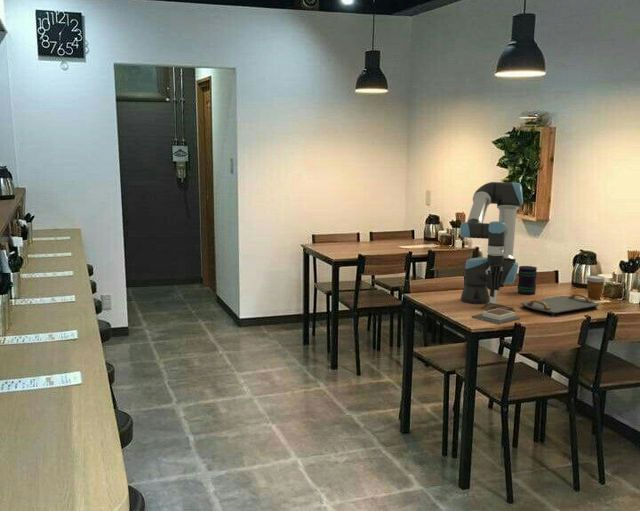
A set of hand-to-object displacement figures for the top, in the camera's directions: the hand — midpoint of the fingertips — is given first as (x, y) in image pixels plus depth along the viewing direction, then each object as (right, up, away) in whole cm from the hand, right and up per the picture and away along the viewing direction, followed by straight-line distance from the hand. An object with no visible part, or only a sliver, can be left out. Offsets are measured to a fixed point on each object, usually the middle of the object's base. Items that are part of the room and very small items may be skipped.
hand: (493, 302), depth 300 cm
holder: (+7, -5, +17) cm, 19 cm away
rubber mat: (+2, -7, +3) cm, 8 cm away
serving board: (+40, -5, +23) cm, 47 cm away
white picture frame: (-1, -6, 0) cm, 6 cm away
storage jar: (+35, +1, +56) cm, 66 cm away
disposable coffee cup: (+68, -1, +45) cm, 81 cm away
